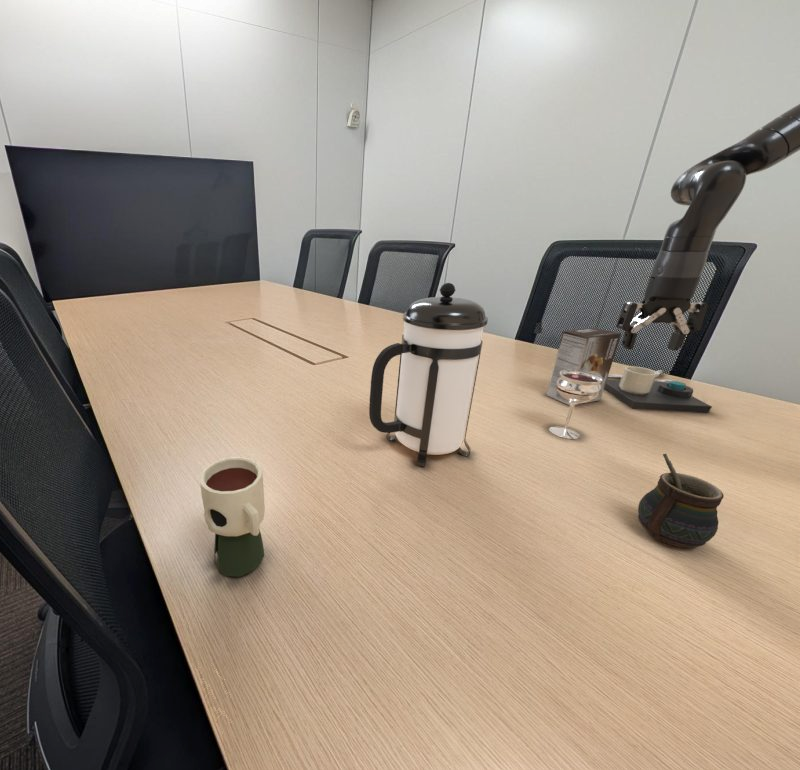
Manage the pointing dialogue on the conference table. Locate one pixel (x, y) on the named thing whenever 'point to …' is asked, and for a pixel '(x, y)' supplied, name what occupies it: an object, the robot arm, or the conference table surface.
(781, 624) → the conference table surface
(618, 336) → the coffee box
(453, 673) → the conference table surface
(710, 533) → the mate gourd
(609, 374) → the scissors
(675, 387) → the tare button
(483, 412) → the conference table surface
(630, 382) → the bowl
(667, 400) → the scale
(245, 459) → the character mug
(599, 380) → the wineglass
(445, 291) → the coffee press
